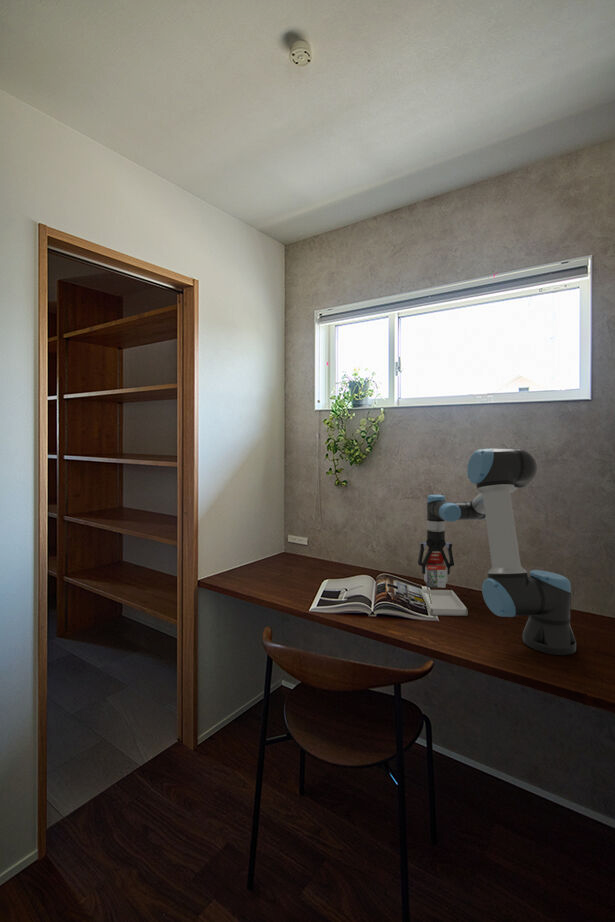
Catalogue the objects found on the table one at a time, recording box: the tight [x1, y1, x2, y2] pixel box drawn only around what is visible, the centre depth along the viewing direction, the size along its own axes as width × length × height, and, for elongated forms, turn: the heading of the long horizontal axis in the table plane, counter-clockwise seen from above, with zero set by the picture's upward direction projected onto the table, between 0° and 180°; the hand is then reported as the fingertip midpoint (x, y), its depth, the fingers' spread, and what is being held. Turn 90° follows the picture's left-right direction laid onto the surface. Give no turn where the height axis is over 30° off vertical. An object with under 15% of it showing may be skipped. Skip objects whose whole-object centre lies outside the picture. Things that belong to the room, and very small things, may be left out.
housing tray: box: [419, 589, 469, 617], centre depth 175 cm, size 22×14×2 cm, turn 176°
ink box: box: [425, 552, 447, 588], centre depth 191 cm, size 4×8×15 cm, turn 84°
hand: (435, 581), depth 191 cm, fingers closed on ink box, 8 cm apart
